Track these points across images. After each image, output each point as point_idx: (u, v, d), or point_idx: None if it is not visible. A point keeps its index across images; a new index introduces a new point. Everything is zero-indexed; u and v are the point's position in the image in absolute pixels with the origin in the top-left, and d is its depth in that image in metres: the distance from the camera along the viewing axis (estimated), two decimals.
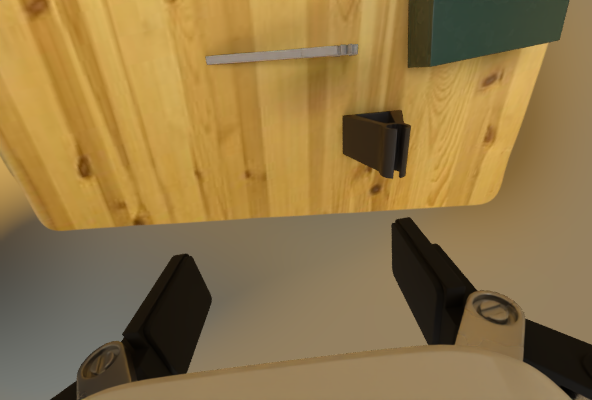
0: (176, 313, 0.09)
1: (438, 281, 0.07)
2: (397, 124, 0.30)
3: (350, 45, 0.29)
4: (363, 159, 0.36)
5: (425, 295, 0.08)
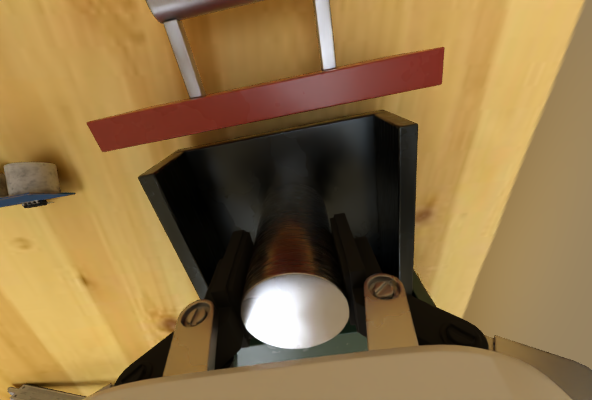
0: (245, 280, 0.10)
1: (347, 265, 0.09)
2: None
3: None
4: None
5: (343, 279, 0.09)
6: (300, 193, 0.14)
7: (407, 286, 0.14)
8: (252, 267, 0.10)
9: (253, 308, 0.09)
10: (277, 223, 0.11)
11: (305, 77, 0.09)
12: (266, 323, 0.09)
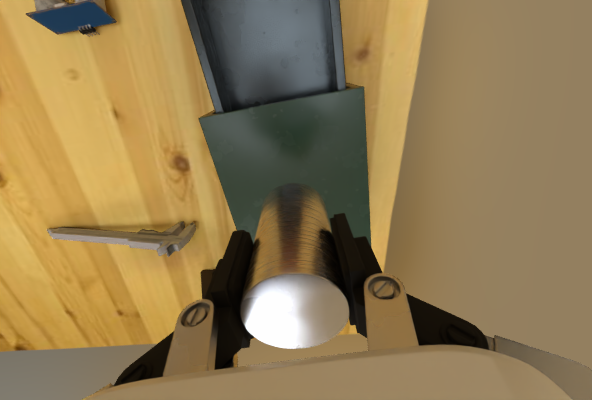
0: (245, 280, 0.10)
1: (347, 265, 0.09)
2: None
3: (165, 250, 0.29)
4: None
5: (343, 279, 0.09)
6: (300, 193, 0.14)
7: (340, 67, 0.21)
8: (252, 267, 0.10)
9: (253, 308, 0.09)
10: (277, 222, 0.11)
11: None
12: (266, 323, 0.09)
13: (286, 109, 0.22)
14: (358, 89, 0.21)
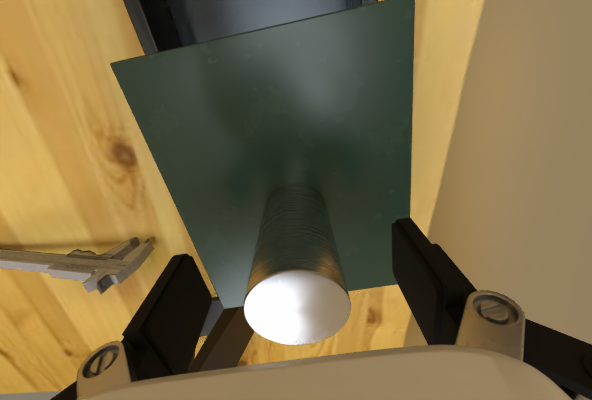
0: (176, 313, 0.09)
1: (438, 281, 0.07)
2: None
3: (96, 285, 0.19)
4: None
5: (425, 295, 0.08)
6: (302, 193, 0.14)
7: None
8: (255, 265, 0.10)
9: (256, 304, 0.09)
10: (279, 222, 0.11)
11: None
12: (269, 319, 0.09)
13: (268, 43, 0.12)
14: (403, 0, 0.11)
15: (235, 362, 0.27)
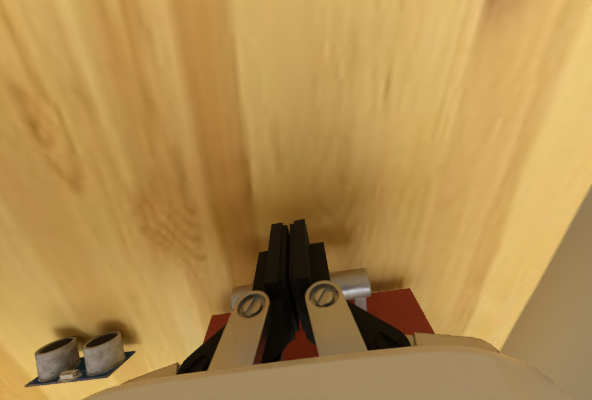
0: None
1: (294, 273, 0.09)
2: None
3: None
4: None
5: None
6: None
7: None
8: None
9: None
10: None
11: None
12: None
13: None
14: None
15: None
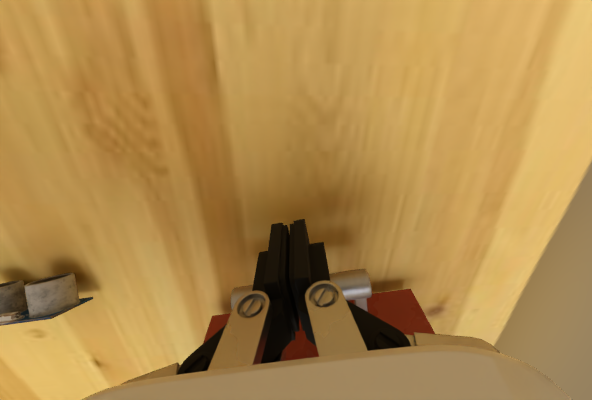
0: None
1: (294, 273, 0.09)
2: None
3: None
4: None
5: None
6: None
7: None
8: None
9: None
10: None
11: None
12: None
13: None
14: None
15: None
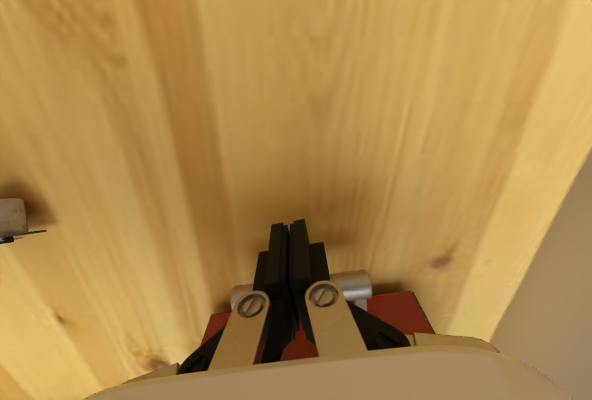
0: None
1: (294, 273, 0.09)
2: None
3: None
4: None
5: None
6: None
7: None
8: None
9: None
10: None
11: None
12: None
13: None
14: None
15: None
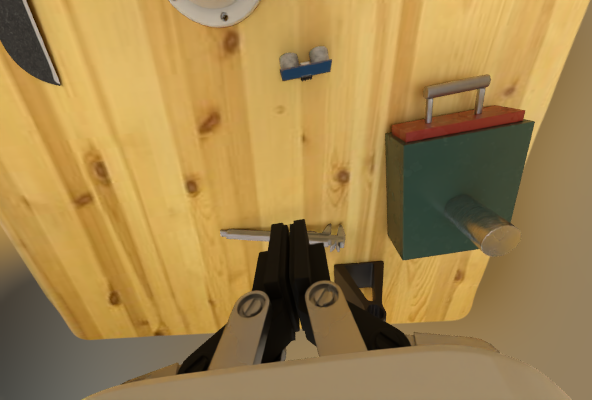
0: None
1: (294, 273, 0.09)
2: (376, 304, 0.38)
3: (338, 247, 0.36)
4: None
5: None
6: (473, 199, 0.31)
7: None
8: (482, 226, 0.27)
9: (488, 238, 0.26)
10: (479, 211, 0.28)
11: (481, 119, 0.29)
12: (490, 245, 0.27)
13: (472, 138, 0.29)
14: (530, 123, 0.28)
15: None
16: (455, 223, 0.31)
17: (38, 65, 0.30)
